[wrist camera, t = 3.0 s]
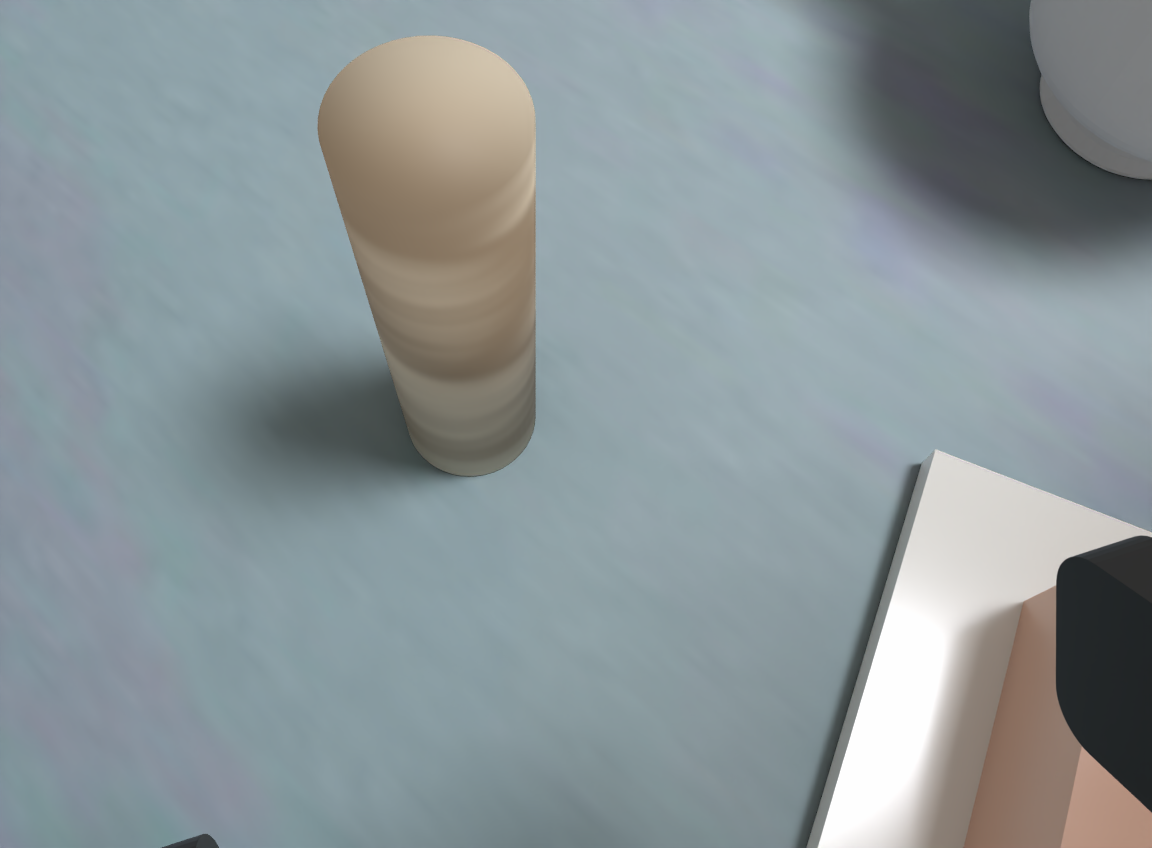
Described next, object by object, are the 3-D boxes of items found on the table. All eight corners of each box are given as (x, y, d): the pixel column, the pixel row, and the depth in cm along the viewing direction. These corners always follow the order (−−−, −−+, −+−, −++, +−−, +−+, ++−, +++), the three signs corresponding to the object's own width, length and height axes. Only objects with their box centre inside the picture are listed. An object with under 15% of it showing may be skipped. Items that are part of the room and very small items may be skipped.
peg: (440, 340, 28) (379, 9, 17) (555, 385, 28) (568, 76, 16) (384, 446, 27) (277, 165, 16) (503, 495, 26) (480, 242, 15)
